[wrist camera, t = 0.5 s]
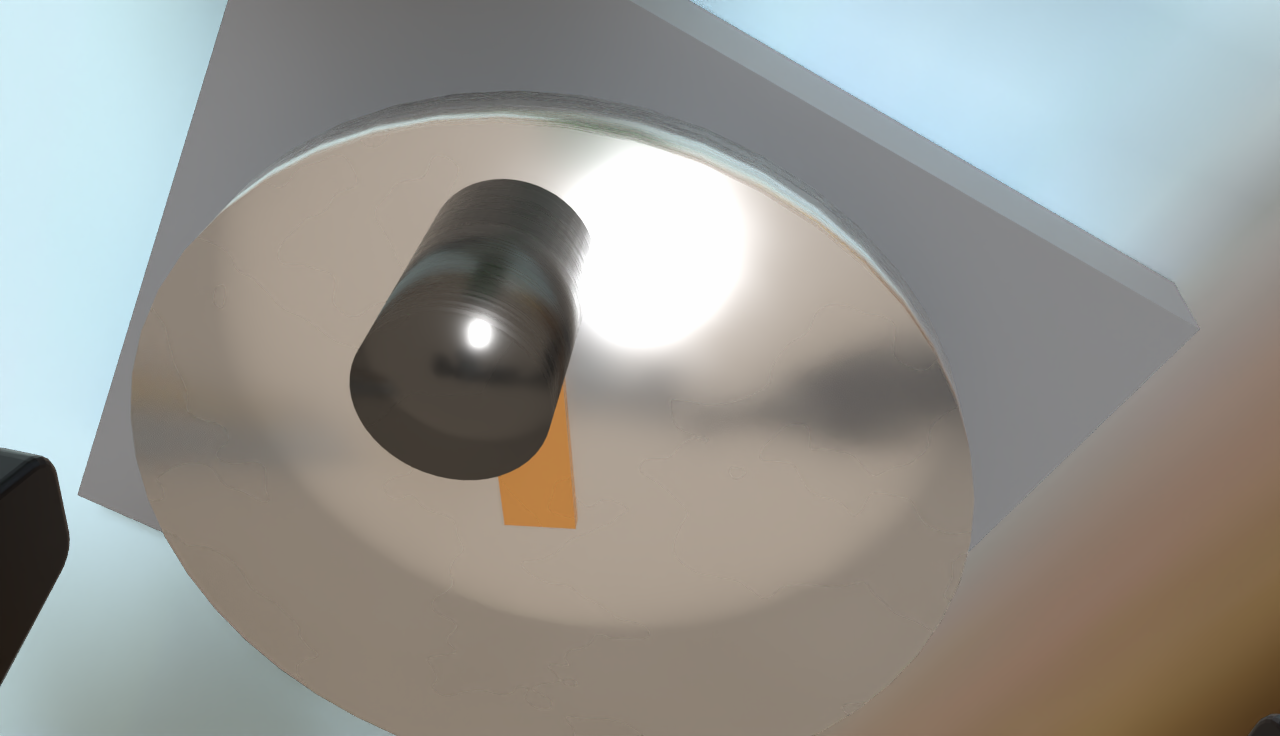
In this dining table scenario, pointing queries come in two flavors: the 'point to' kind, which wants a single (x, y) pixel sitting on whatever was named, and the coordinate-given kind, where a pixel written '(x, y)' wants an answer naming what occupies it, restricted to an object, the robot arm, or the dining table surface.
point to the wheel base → (738, 110)
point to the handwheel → (554, 428)
